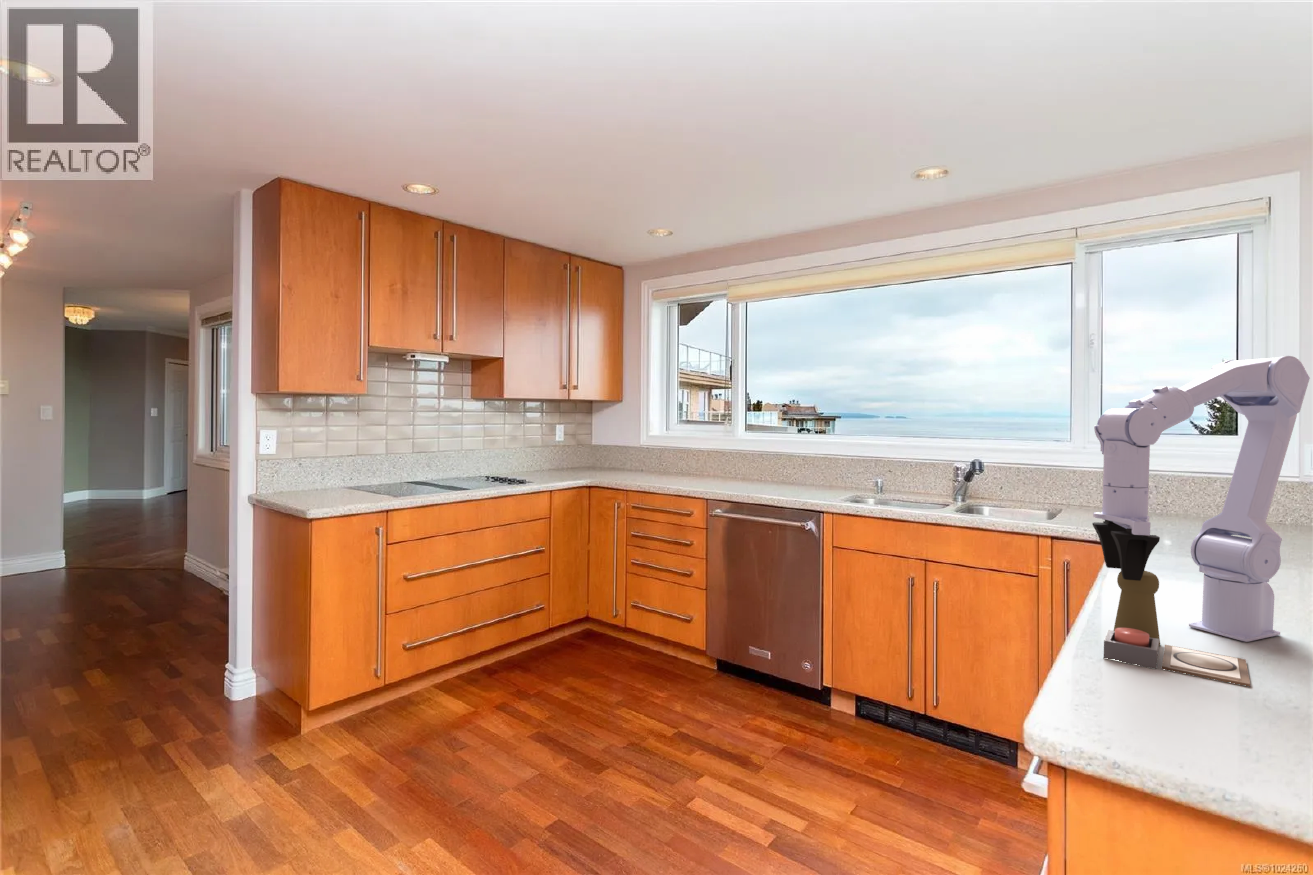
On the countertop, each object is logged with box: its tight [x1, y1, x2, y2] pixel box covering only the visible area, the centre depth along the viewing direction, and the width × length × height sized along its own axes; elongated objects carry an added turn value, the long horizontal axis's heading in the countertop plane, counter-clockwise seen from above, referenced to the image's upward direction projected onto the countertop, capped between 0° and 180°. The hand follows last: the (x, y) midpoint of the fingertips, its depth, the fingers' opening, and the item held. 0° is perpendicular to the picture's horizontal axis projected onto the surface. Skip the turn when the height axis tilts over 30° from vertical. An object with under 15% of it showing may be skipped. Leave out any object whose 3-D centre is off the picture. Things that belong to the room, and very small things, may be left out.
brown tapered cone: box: [1112, 570, 1161, 647], centre depth 100 cm, size 6×6×11 cm
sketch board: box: [1161, 644, 1251, 688], centre depth 91 cm, size 11×9×1 cm
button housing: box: [1103, 629, 1160, 670], centre depth 94 cm, size 6×6×3 cm
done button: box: [1115, 628, 1149, 647], centre depth 93 cm, size 4×4×2 cm
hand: (1122, 573), depth 101 cm, fingers open, 7 cm apart
